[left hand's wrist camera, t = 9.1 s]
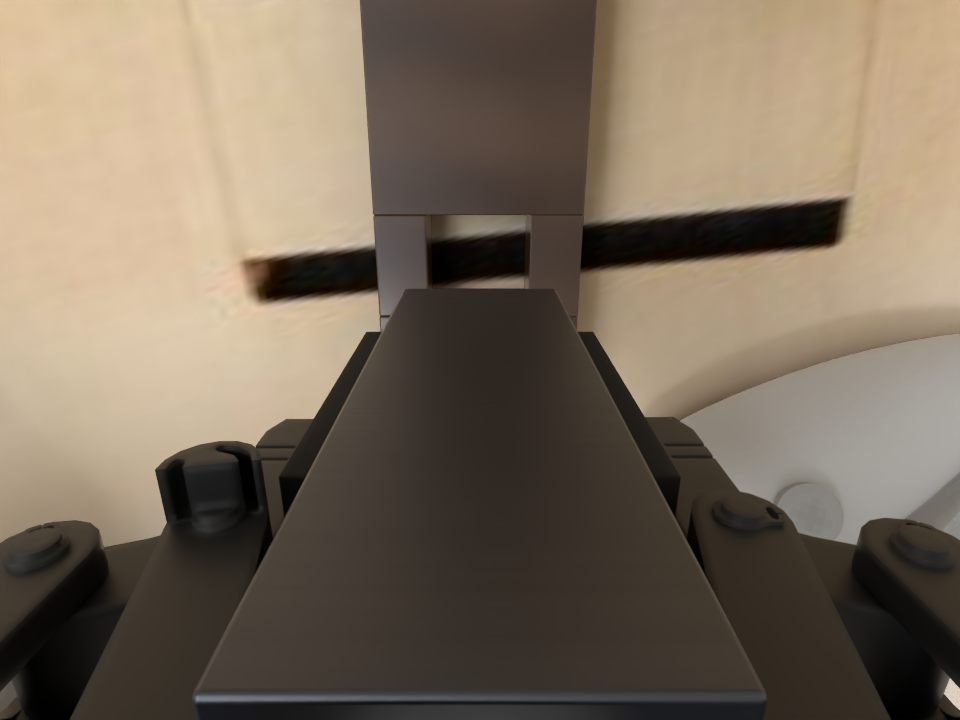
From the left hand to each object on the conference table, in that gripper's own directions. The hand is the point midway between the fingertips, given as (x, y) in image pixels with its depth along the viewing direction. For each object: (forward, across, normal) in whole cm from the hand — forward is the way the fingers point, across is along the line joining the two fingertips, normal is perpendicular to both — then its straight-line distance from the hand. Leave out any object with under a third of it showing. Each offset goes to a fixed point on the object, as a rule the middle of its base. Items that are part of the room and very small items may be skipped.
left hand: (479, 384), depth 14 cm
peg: (+2, 0, 0) cm, 2 cm away
